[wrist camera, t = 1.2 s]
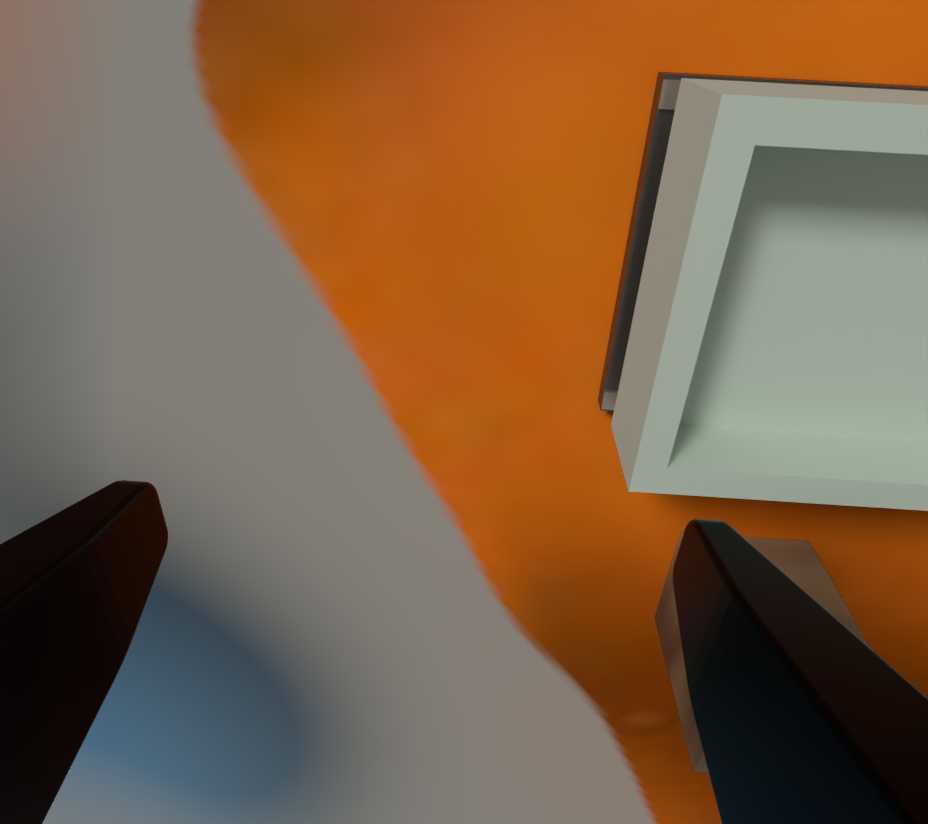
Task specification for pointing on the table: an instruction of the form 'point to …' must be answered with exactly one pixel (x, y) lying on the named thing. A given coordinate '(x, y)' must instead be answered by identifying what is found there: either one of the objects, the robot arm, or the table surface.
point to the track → (646, 206)
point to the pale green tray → (784, 301)
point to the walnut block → (790, 559)
